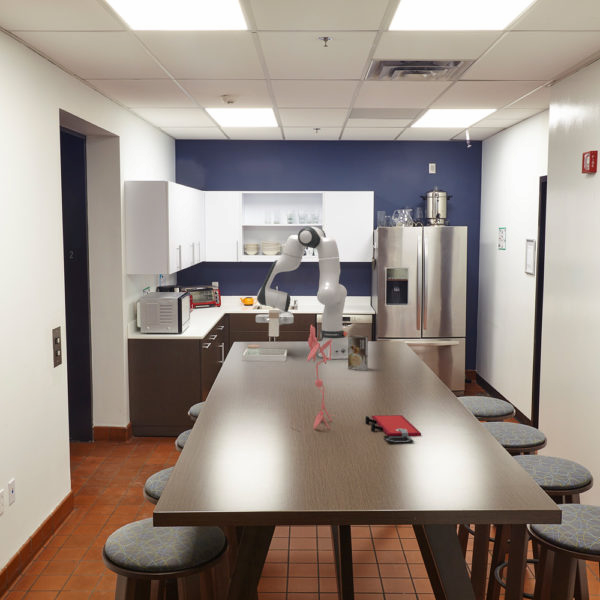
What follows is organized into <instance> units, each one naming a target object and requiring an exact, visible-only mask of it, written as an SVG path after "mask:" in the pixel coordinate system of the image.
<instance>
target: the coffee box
mask: <svg viewBox="0 0 600 600" xmlns="http://www.w3.org/2000/svg"><path fill="white" fill-rule="evenodd" d="M347 339H348V359H347V370H355V369H356V370H355V371H357V370H358V371H359V370H360V371H366V370H368V369H369V365H368V363H369V362H368V361H369V358H368V357H369V355H368V354H369V340H368V339H369V336H368V335H353V334H352V335H351V334H349V336H348V337H347Z"/></svg>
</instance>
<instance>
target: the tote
mask: <svg viewBox="0 0 600 600" xmlns="http://www.w3.org/2000/svg"><path fill="white" fill-rule="evenodd" d="M287 357H288V349H287V348H259V355H248V348H245V350H244V351H243V354H242V361H243V362H287Z"/></svg>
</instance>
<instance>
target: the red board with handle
mask: <svg viewBox="0 0 600 600" xmlns="http://www.w3.org/2000/svg"><path fill="white" fill-rule="evenodd" d="M372 418H373V419H372ZM364 419H365V420H364V421H365V422H364V423H365V424H366V425H370V431H371V432H373V433H375V432H376V430H379V431H383V433H384V434H385V435H383V437H384V439H385V440H386V441H387V443H406V442H407V443H411V442H412V443H413V442H415V441H414V440H413V439H412V438H411V437H422V433H421V431H419V430H418V429H417V428H416V427H415V426H414V424H412V423H411V422H410V421H408V419H407V418H405V417H404V416H403V415H398V414H397V415H394V414H393V415H392V414H390V415H389V414H388V415H383V414H382V415H379V414H378V415H371V418H370V417H369V416H367V415H366V416H365V418H364ZM376 423H377V424H378V425H377V424H376Z"/></svg>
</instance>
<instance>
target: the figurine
mask: <svg viewBox="0 0 600 600" xmlns="http://www.w3.org/2000/svg"><path fill="white" fill-rule="evenodd" d="M309 331H310V333H309V336H308V342H307V344H308V347H309V348H310V352H309V353H308V355H307V359H306V361H307V362H308V363H309V361H310V360H311V359H312V360H313V362H316V353H317V352H318V354H319V353H321V354H322V357H321V358H322V360H321V361H319V362H317V363H316V365H315V369H316V380H315V381H314V385H315V386H316V388H318V389H319V391H320V392H321V394H322V401H321V405H320V410H319V411H318V413H317V414H316V416H315V417H314V419H315V420H314V423H313V430H315V429H316V428H317V427H318V426H319V425H320V424H321V422H322V420H323V422H324V424H325V425H326V427H327V429H328V430H329V429H330V426H329V424H328V422H327V420H326V418H325V417H324V411H325V413H326V416H327V418H328V419H329V422H332V419H331V416H333V417H334V416H336V415H334V414H330V415H329V413H328V411H327V408H326V403H325V404H324V402H325V386H324V384H323V383H324V382H323V381H322V379H319V369H318V366H319V365H320V364H322V363H323V362H324V364H325V365H326V364H327V361H332V359H331V341H332V340H331V339H330V340H329V341H327V342H326V343H325V344H324V345H323V346H322V347H320V346H321V342H318V339H317V337H316V327H314V326H313V324H310V328H309ZM329 344H330V355H329V358H328V357H326V355H325V354H324V352H323V350H324V349H326V348H327V347H328V346H329ZM318 350H319V351H318ZM324 357H325V358H324ZM321 387H322V388H323V389H322V388H321ZM295 420H297V419H294V421H295ZM291 430H294V431H296V432H299V433H300V432H301V430H297V429H295V428H294V427H292V428H291Z"/></svg>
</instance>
